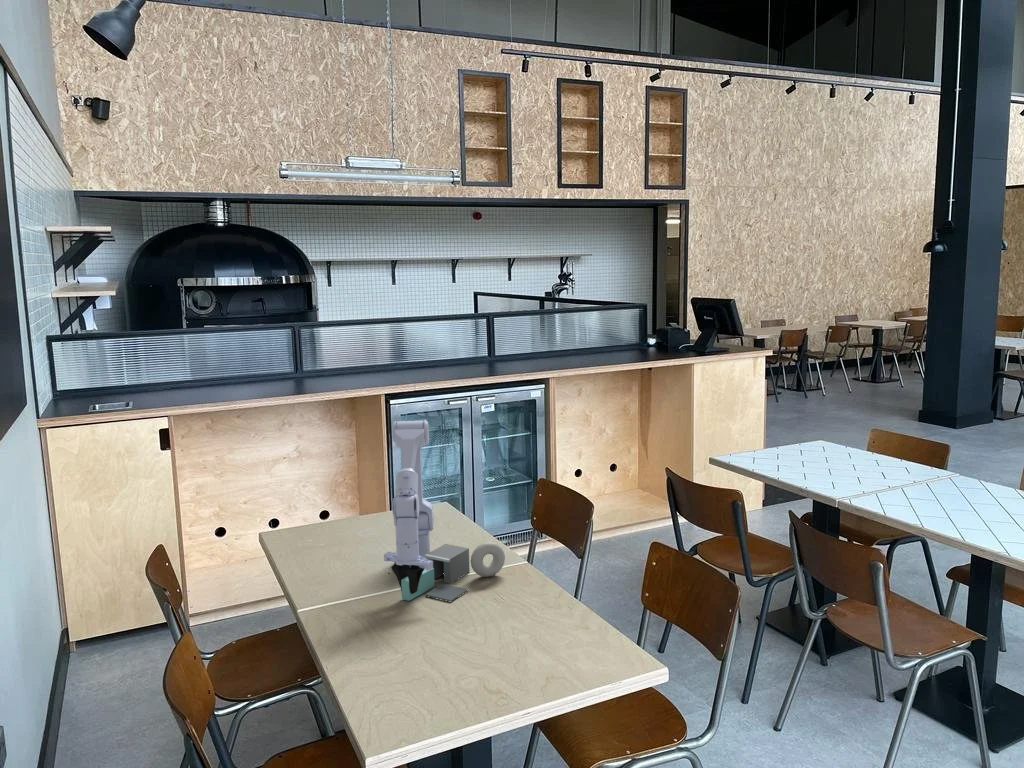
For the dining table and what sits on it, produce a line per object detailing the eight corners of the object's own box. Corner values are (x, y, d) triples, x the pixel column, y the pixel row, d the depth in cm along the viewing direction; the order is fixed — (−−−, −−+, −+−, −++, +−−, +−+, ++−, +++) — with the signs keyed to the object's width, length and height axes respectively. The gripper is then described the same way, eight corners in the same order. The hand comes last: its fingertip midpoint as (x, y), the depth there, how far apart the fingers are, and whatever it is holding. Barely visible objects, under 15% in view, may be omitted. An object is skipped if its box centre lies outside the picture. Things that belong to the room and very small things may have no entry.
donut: (473, 581, 209) (472, 546, 208) (469, 577, 212) (468, 542, 211) (507, 575, 213) (506, 541, 212) (502, 571, 216) (502, 537, 215)
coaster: (425, 596, 200) (425, 594, 200) (443, 585, 207) (443, 583, 207) (451, 602, 196) (450, 600, 196) (468, 591, 203) (468, 589, 203)
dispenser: (425, 579, 212) (424, 555, 211) (446, 567, 220) (445, 543, 219) (449, 584, 208) (448, 560, 207) (469, 572, 216) (468, 548, 215)
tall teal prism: (401, 599, 198) (401, 579, 198) (427, 585, 208) (426, 566, 207) (409, 600, 197) (408, 581, 196) (434, 586, 206) (434, 568, 206)
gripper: (375, 541, 197) (377, 591, 199) (420, 550, 190) (422, 602, 192) (392, 533, 203) (394, 581, 205) (437, 541, 196) (438, 592, 198)
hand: (409, 591), depth 199 cm, fingers closed on tall teal prism, 2 cm apart
